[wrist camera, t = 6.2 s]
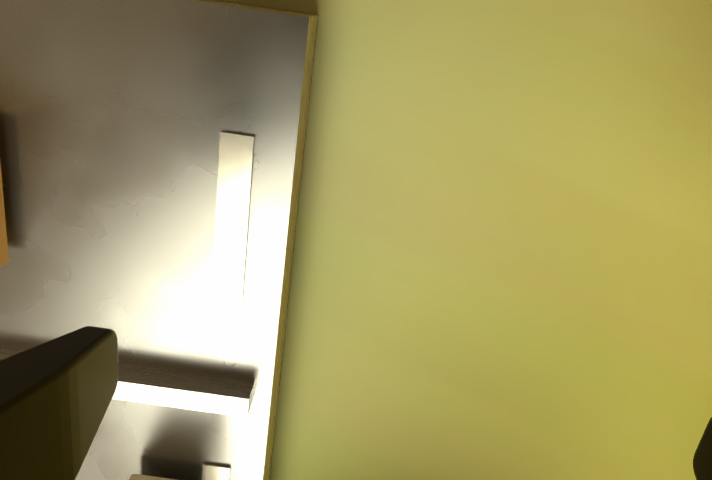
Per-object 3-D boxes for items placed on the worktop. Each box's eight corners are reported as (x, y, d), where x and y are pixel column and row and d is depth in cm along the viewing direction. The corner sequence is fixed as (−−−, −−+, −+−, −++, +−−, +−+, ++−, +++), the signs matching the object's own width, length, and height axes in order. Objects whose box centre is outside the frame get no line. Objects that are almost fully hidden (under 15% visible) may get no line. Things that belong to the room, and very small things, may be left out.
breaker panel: (318, 15, 15) (304, 18, 12) (258, 581, 22) (242, 657, 20) (-161, -55, 15) (-276, -67, 12) (-63, 538, 22) (-121, 609, 20)
